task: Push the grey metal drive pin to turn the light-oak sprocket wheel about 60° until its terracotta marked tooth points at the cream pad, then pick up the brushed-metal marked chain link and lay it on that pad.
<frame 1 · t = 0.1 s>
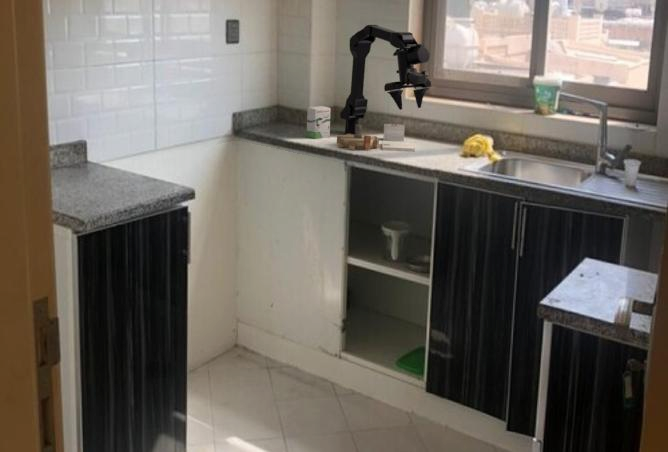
hand: (410, 108, 315), 15 cm above the worktop, tool pointing down, fingers open, 9 cm apart
sprocket: (357, 136, 321), point 4 cm above the worktop, hinge at 0.0°
ink box: (318, 137, 337), on the worktop
pad: (398, 147, 322), on the worktop
marked link: (393, 140, 337), on the worktop
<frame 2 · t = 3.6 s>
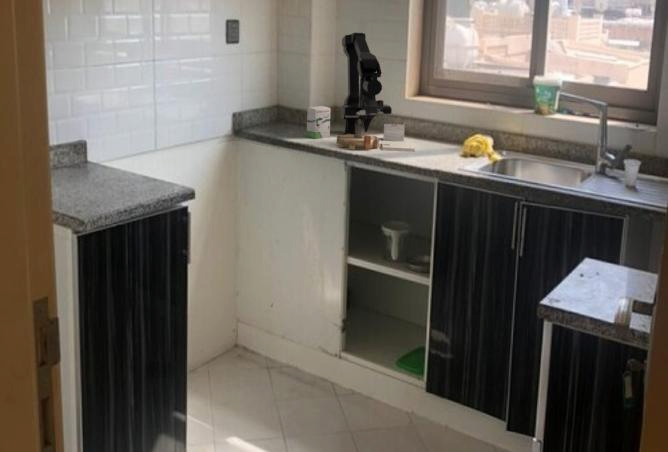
hand: (365, 132, 326), 5 cm above the worktop, tool pointing down, fingers closed
sprocket: (357, 136, 321), point 4 cm above the worktop, hinge at 0.3°, touching gripper
everything else where it was.
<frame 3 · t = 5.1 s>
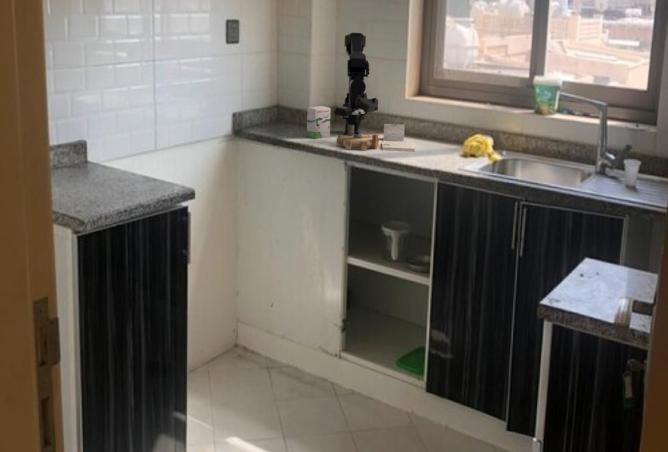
hand: (356, 131, 326), 5 cm above the worktop, tool pointing down, fingers closed
sprocket: (357, 136, 321), point 4 cm above the worktop, hinge at 34.6°, touching gripper
everything else where it was.
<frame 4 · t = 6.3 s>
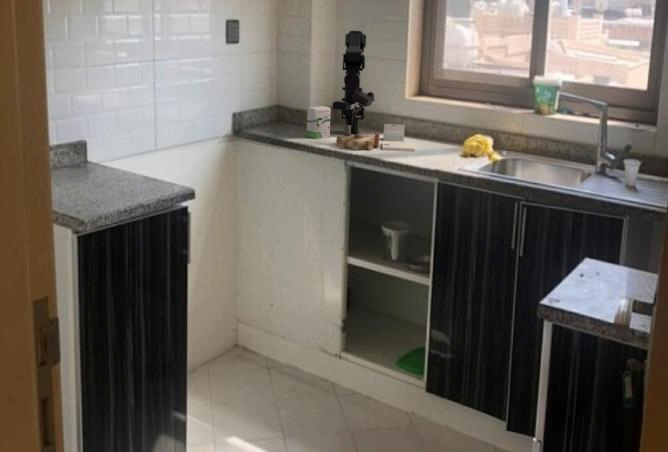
hand: (350, 125, 324), 7 cm above the worktop, tool pointing down, fingers closed
sprocket: (357, 136, 321), point 4 cm above the worktop, hinge at 54.4°
everything else where it was.
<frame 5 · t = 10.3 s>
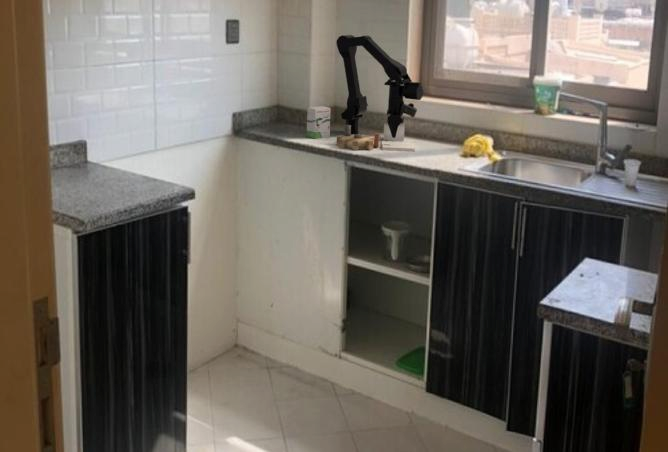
hand: (393, 136, 336), 1 cm above the worktop, tool pointing down, fingers closed on marked link, 4 cm apart
marked link: (393, 139, 337), on the worktop, touching gripper
everything else where it was.
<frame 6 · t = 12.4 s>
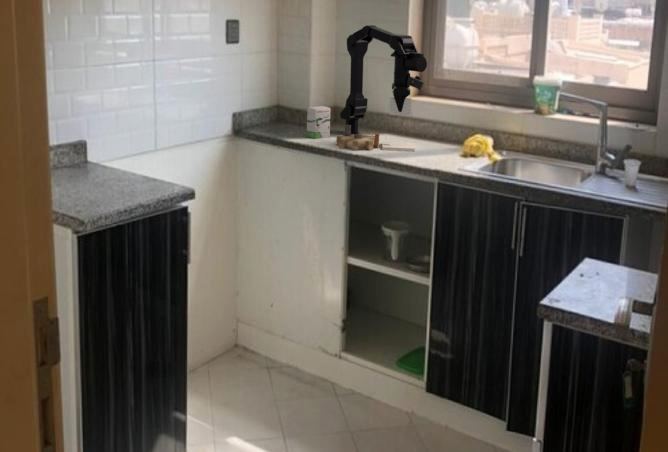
hand: (399, 111, 323), 13 cm above the worktop, tool pointing down, fingers closed on marked link, 4 cm apart
marked link: (399, 114, 323), point 12 cm above the worktop, touching gripper
everything else where it was.
when the fingers open (4 cm above the worktop, at t = 14.8 s): marked link drops 1 cm, resting on pad.
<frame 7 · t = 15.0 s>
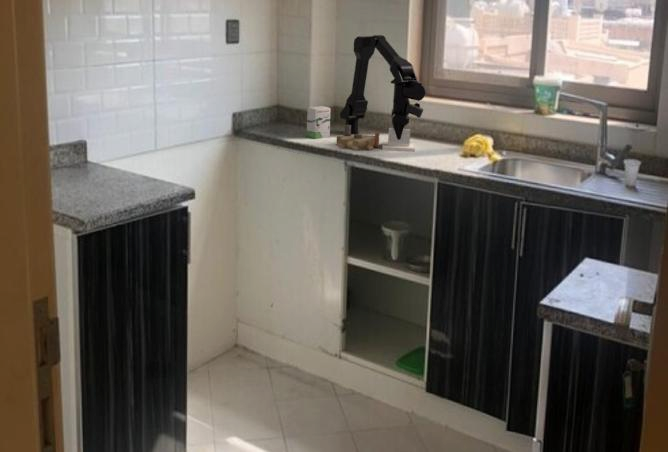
hand: (398, 138, 321), 4 cm above the worktop, tool pointing down, fingers open, 6 cm apart
marked link: (398, 144, 322), point 1 cm above the worktop, touching pad
everything else where it was.
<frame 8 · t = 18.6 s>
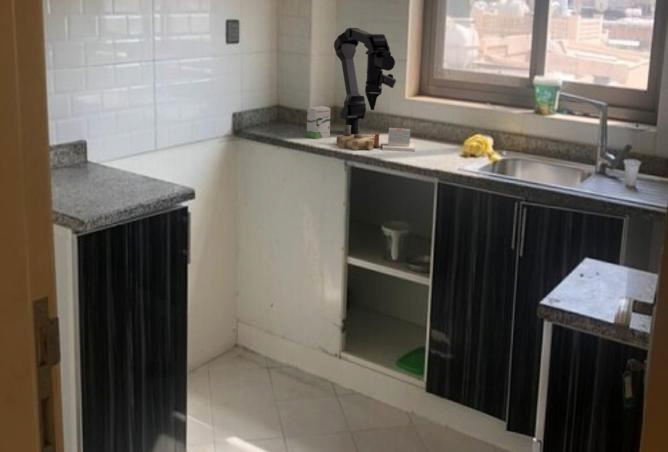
hand: (372, 108, 328), 13 cm above the worktop, tool pointing down, fingers open, 9 cm apart
nothing on the worktop moved.
at the end: sprocket at +54° (first picture: +0°); marked link inside the target area on the pad (0.1 cm from its centre), point 1.1 cm above the pad's base; marked link tilted 1° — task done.
